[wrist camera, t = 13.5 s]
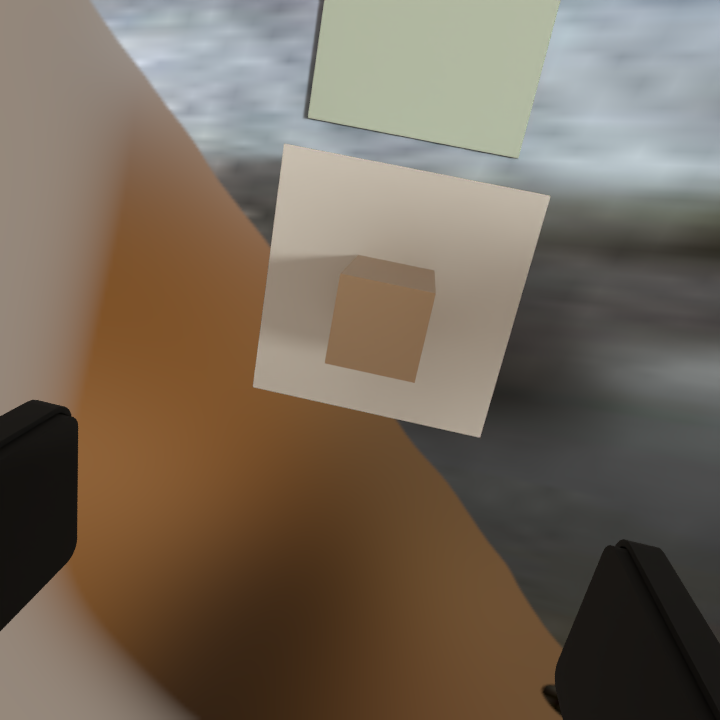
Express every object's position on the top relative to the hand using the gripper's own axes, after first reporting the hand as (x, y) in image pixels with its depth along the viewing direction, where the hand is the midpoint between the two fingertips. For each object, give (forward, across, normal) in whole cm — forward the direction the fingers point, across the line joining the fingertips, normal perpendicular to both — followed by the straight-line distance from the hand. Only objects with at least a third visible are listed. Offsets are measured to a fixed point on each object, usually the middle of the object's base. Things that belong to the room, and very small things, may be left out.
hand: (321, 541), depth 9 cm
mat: (+36, +2, -17) cm, 40 cm away
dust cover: (+36, +1, 0) cm, 36 cm away
